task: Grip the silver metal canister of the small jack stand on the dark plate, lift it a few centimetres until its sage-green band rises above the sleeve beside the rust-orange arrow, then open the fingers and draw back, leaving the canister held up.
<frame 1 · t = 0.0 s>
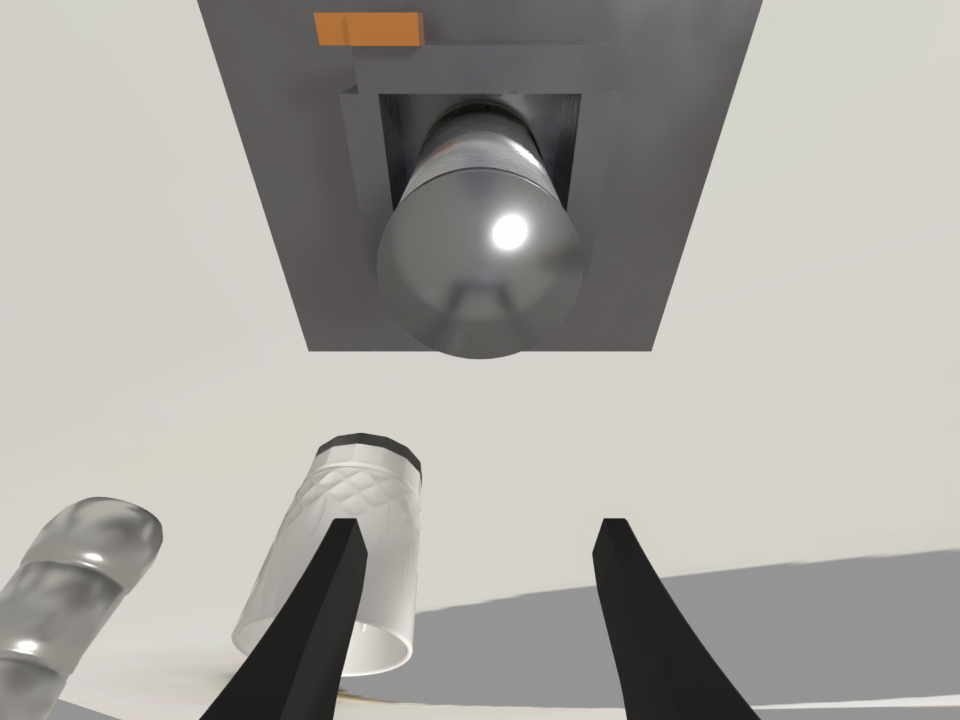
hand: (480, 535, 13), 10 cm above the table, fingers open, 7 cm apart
plastic bottle: (127, 508, 30), on the table
white cup: (370, 464, 27), on the table
silver metal canister: (480, 169, 15), point 1 cm above the table, slide at 0.0 cm
stand base: (480, 162, 16), on the table
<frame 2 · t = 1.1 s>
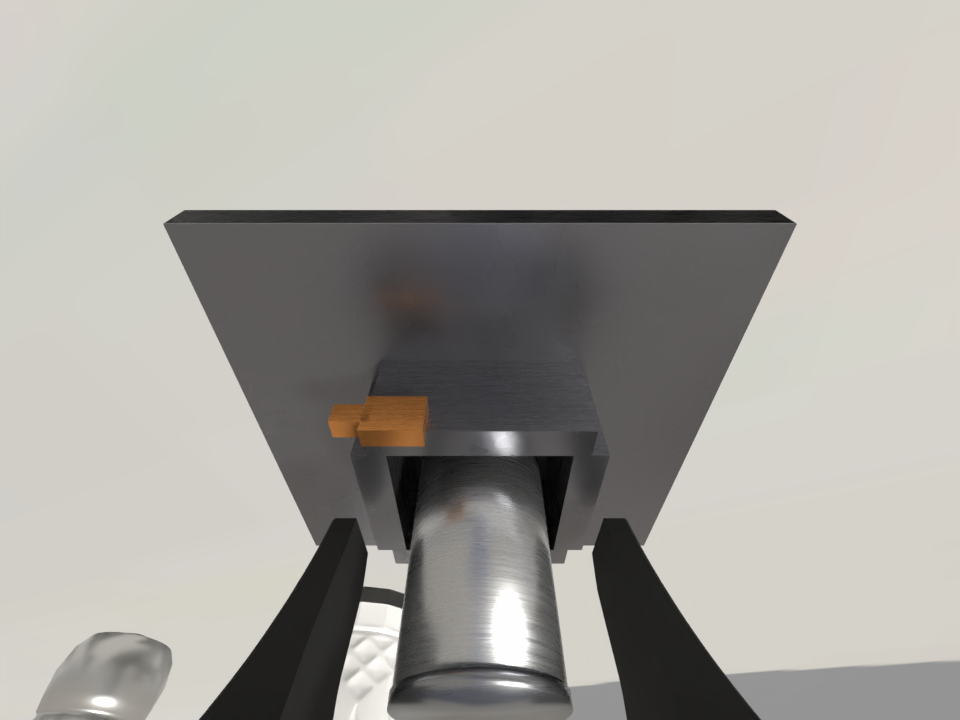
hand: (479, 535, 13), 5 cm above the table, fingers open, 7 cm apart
plastic bottle: (138, 633, 31), on the table
white cup: (373, 604, 28), on the table
silver metal canister: (480, 435, 16), point 1 cm above the table, slide at 0.0 cm
stand base: (480, 416, 16), on the table
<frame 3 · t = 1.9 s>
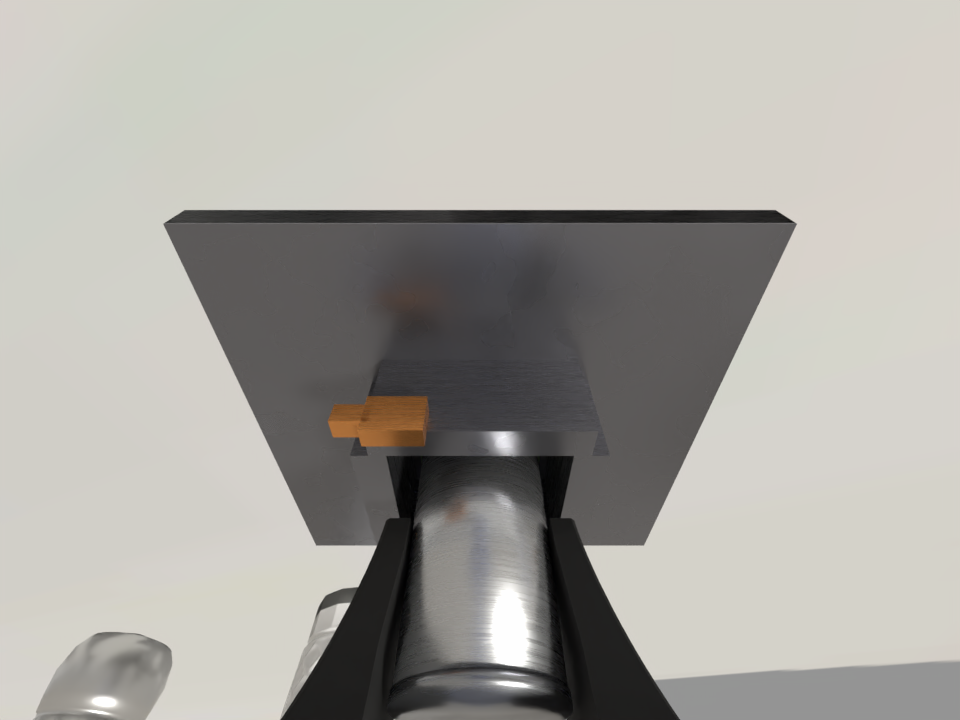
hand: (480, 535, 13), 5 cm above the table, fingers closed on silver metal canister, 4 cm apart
plastic bottle: (138, 633, 31), on the table
white cup: (373, 604, 28), on the table
silver metal canister: (480, 435, 16), point 1 cm above the table, slide at 0.0 cm, touching gripper, stand base
stand base: (480, 416, 16), on the table
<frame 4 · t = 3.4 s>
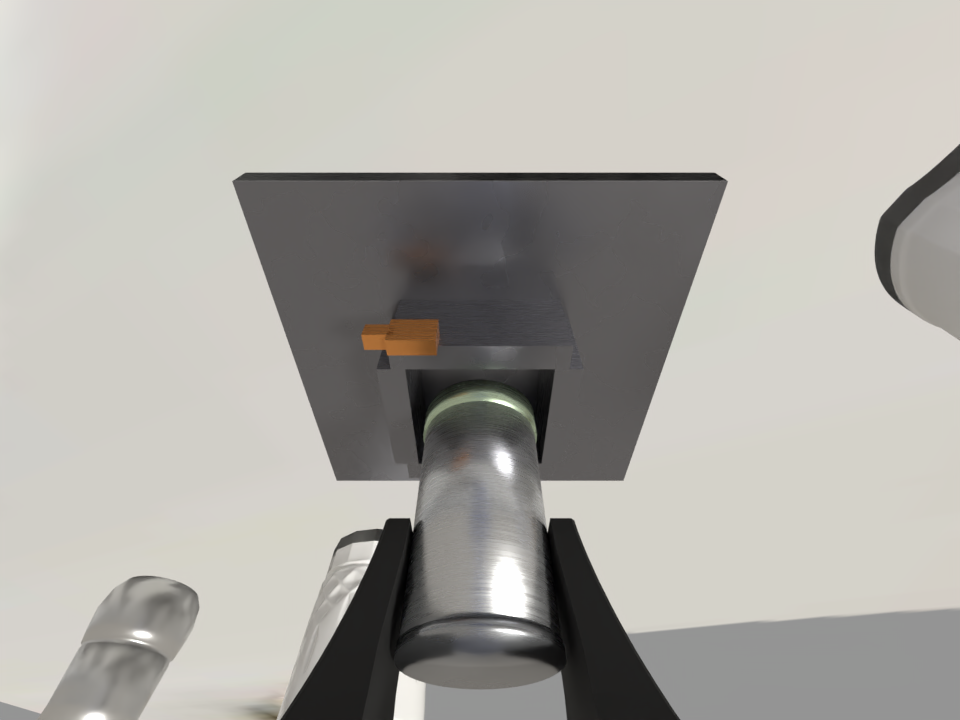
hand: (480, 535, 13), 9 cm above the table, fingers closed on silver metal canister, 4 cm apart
plastic bottle: (167, 581, 34), on the table
white cup: (383, 549, 31), on the table
silver metal canister: (480, 418, 16), point 4 cm above the table, slide at 2.8 cm, touching gripper
stand base: (480, 356, 19), on the table
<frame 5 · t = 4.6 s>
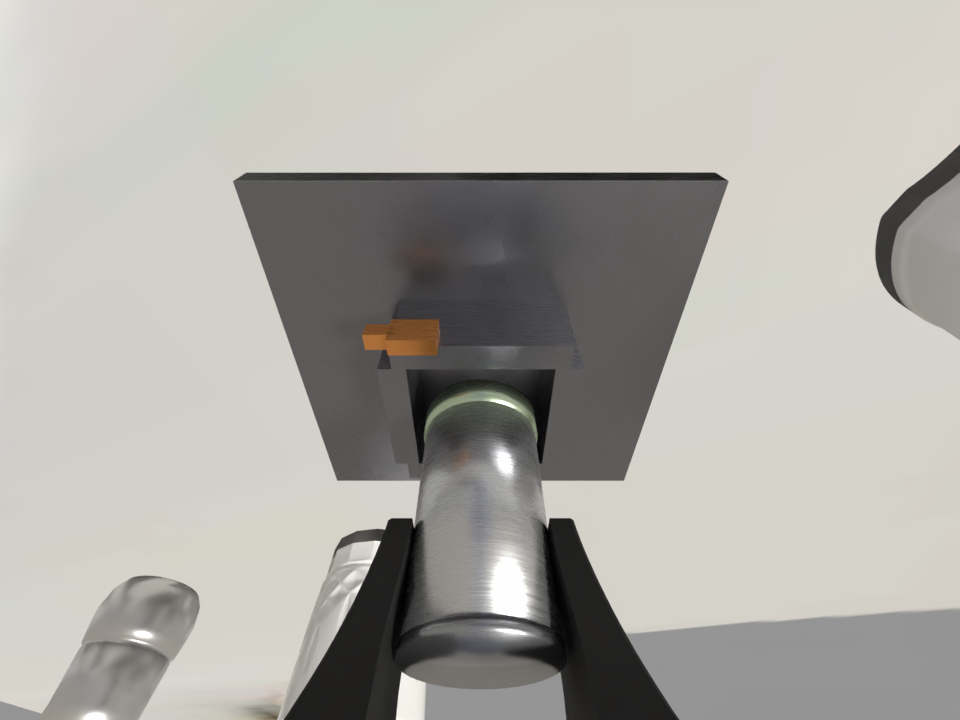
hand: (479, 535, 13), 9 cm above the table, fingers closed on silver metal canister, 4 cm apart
plastic bottle: (168, 580, 34), on the table
white cup: (384, 549, 31), on the table
silver metal canister: (480, 418, 16), point 4 cm above the table, slide at 2.8 cm, touching gripper
stand base: (480, 356, 19), on the table
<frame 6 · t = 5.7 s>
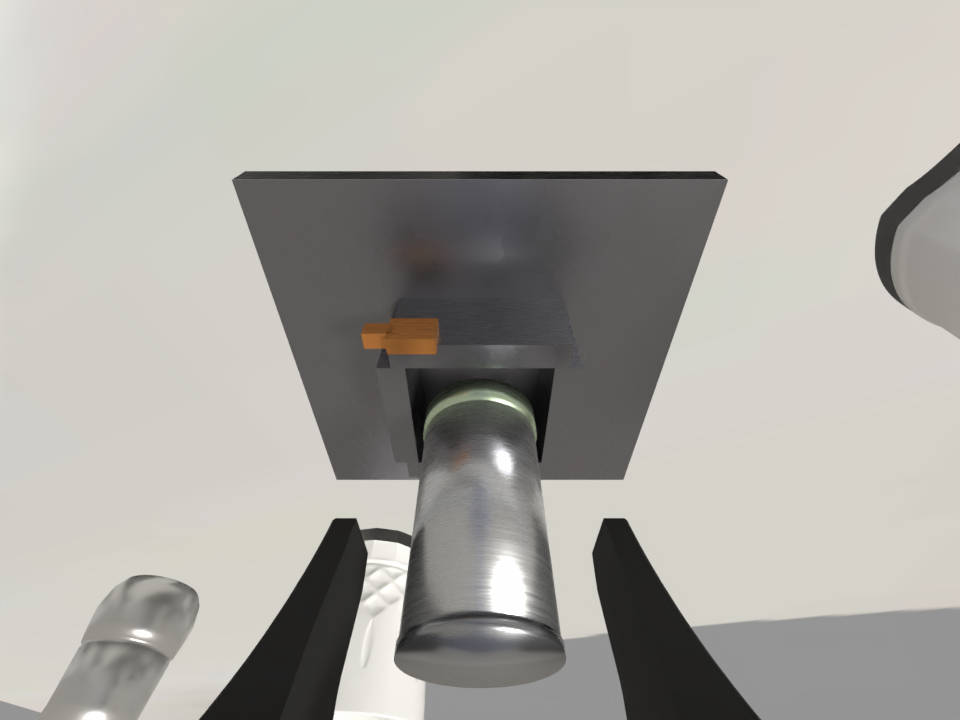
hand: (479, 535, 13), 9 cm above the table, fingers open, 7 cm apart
plastic bottle: (167, 580, 34), on the table
white cup: (383, 548, 31), on the table
silver metal canister: (480, 417, 16), point 4 cm above the table, slide at 2.8 cm
stand base: (480, 355, 19), on the table
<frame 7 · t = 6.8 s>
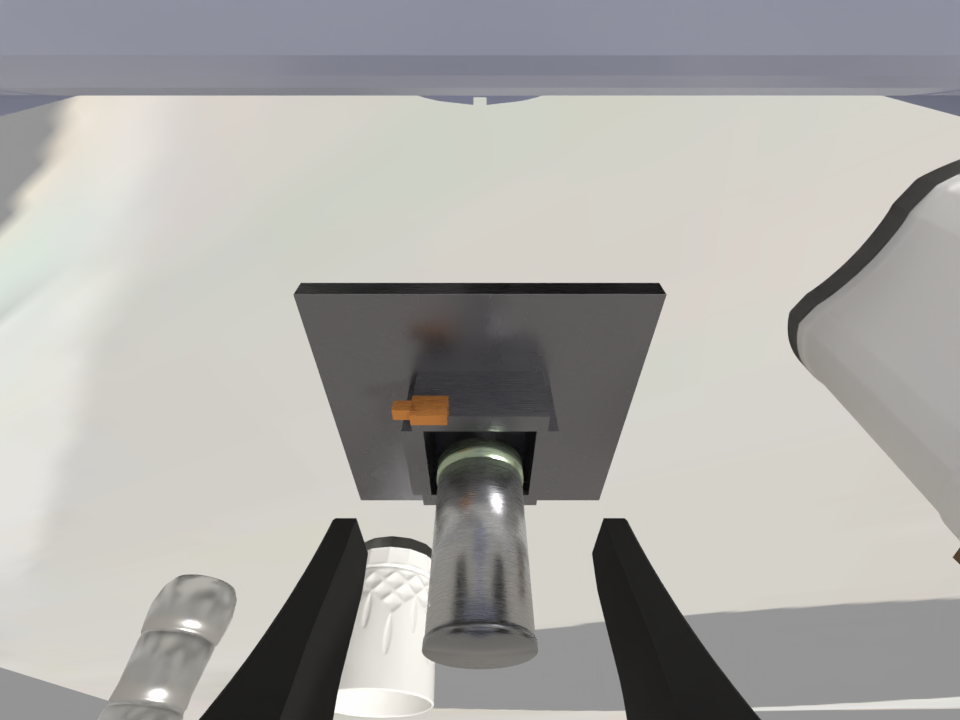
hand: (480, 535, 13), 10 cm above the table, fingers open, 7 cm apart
plastic bottle: (208, 578, 39), on the table
white cup: (397, 552, 36), on the table
silver metal canister: (480, 463, 21), point 4 cm above the table, slide at 2.8 cm
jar: (923, 280, 19), on the table
stand base: (480, 406, 24), on the table
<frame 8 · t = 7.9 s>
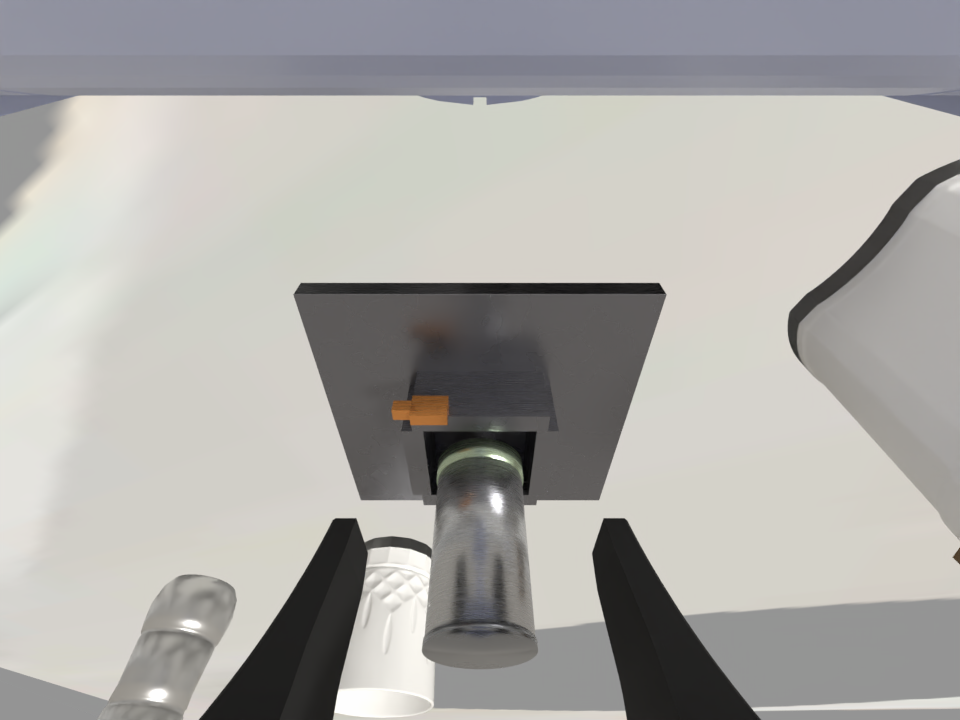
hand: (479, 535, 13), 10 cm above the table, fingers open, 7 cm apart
plastic bottle: (208, 578, 39), on the table
white cup: (397, 552, 36), on the table
silver metal canister: (480, 463, 21), point 4 cm above the table, slide at 2.8 cm
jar: (923, 280, 19), on the table
stand base: (480, 406, 24), on the table
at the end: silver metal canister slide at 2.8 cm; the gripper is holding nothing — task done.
